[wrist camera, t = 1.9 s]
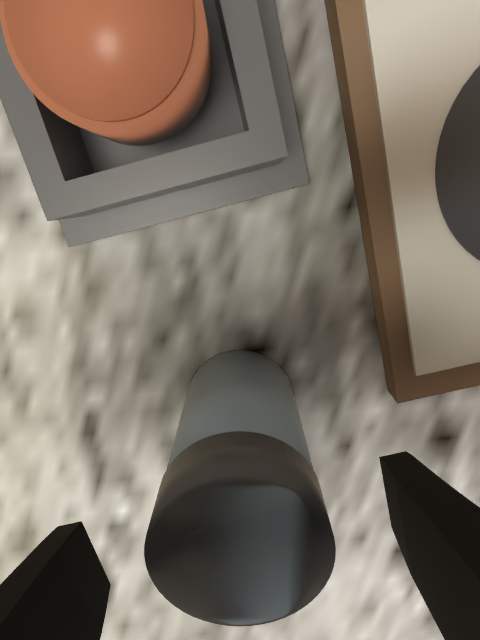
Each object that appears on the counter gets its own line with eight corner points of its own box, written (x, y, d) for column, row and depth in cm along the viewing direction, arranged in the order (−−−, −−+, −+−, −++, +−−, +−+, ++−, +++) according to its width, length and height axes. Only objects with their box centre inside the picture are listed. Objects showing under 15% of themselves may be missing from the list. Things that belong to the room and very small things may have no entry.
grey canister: (303, 433, 16) (350, 608, 9) (203, 454, 16) (176, 640, 9) (281, 337, 15) (315, 457, 8) (173, 363, 15) (117, 499, 8)
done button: (229, 122, 10) (227, 101, 8) (85, 163, 11) (41, 153, 8) (186, -60, 9) (167, -149, 7) (26, -10, 10) (-44, -78, 7)
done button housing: (306, 184, 13) (325, 180, 10) (74, 245, 14) (30, 258, 11) (247, -122, 11) (250, -238, 8) (-29, -33, 11) (-119, -111, 8)
